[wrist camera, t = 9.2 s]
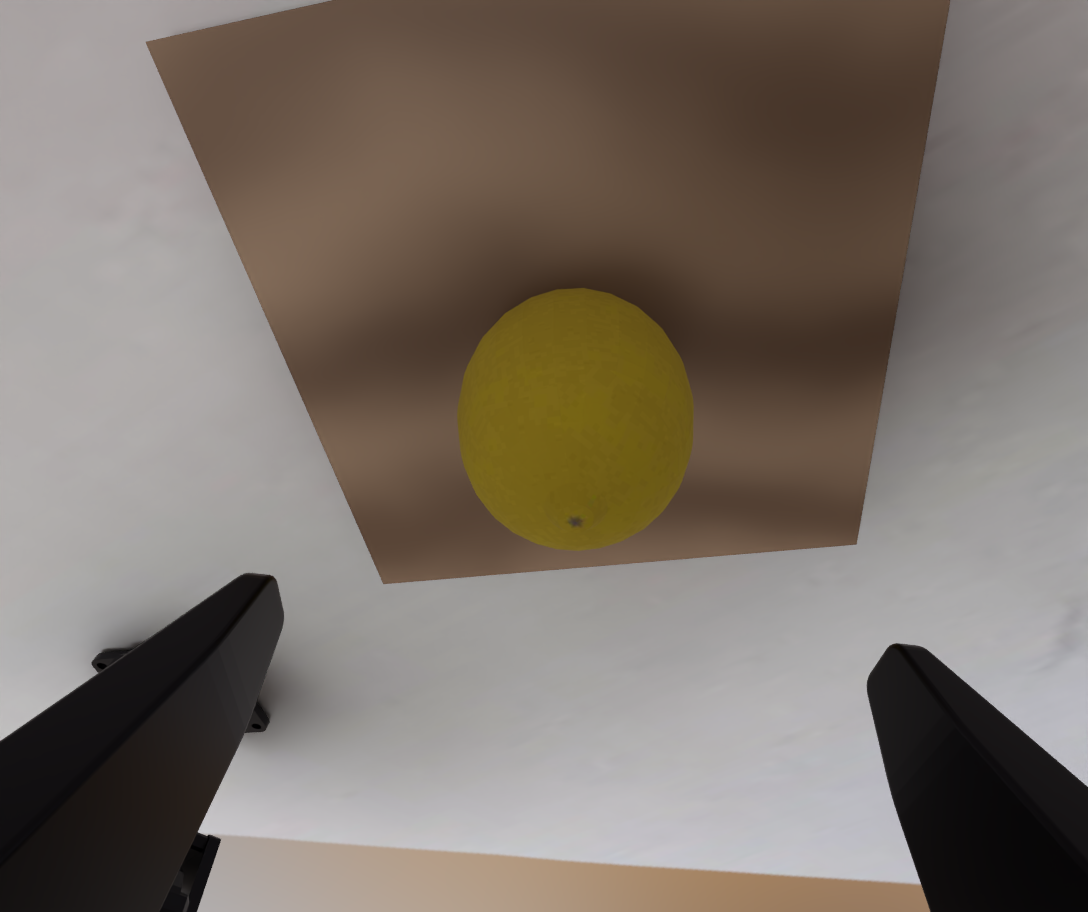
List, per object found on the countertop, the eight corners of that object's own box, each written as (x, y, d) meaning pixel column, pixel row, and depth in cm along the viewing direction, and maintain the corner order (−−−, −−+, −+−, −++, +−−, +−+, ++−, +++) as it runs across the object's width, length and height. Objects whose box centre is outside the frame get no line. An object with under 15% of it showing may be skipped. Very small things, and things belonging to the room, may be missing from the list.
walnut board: (846, 526, 22) (856, 544, 21) (390, 566, 24) (383, 584, 23) (947, -128, 12) (974, -143, 11) (169, 43, 15) (145, 42, 14)
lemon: (443, 347, 18) (367, 522, 11) (573, 205, 15) (576, 319, 9) (574, 454, 20) (576, 656, 13) (707, 343, 17) (793, 521, 11)
